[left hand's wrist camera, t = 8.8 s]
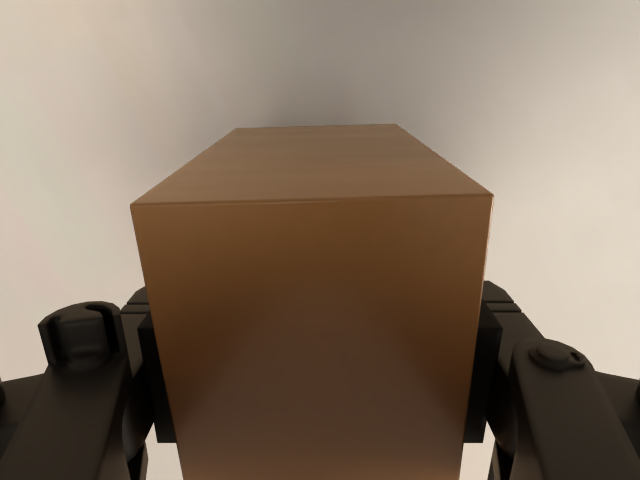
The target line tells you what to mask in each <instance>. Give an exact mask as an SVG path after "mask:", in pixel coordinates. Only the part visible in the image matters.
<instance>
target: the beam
mask: <svg viewBox="0 0 640 480" xmlns="http://www.w3.org/2000/svg"><path fill="white" fill-rule="evenodd" d="M493 201H494V195H493V194H492V193H491V192H490V191H488V190H487V189H485V188H484V187H483V186H481V185H480V184H478V183H477V182H476V181H474V180H473V179H472V178H470V177H469V176H467V175H466V174H465V173H463V172H462V171H460V170H459V169H458V168H456V167H455V166H453V165H452V164H451V163H449V162H448V161H446V160H445V159H444V158H442V157H441V156H439V155H438V154H437V153H435V152H434V151H433V150H431V149H430V148H428V147H427V146H426V145H424V144H423V143H421V142H420V141H419V140H417V139H416V138H414V137H413V136H412V135H410V134H409V133H407V132H406V131H405V130H403V129H402V128H401V127H399V126H398V125H396V124H372V125H337V126H302V127H267V128H236V129H234V130H233V131H232V132H230V133H229V134H228V135H226V136H225V137H223V138H222V139H221V140H219V141H218V142H216V143H215V144H214V145H212V146H211V147H209V148H208V149H207V150H205V151H204V152H202V153H201V154H200V155H198V156H197V157H195V158H194V159H193V160H191V161H190V162H188V163H187V164H186V165H184V166H183V167H181V168H180V169H179V170H177V171H176V172H175V173H173V174H172V175H170V176H169V177H168V178H166V179H165V180H163V181H162V182H161V183H159V184H158V185H156V186H155V187H154V188H152V189H151V190H149V191H148V192H147V193H145V194H144V195H142V196H141V197H140V198H138V199H137V200H135V201H134V202H133V203H131V205H130V210H131V215H132V220H133V225H134V230H135V235H136V240H137V245H138V251H139V256H140V261H141V266H142V271H143V276H144V281H145V286H146V291H147V296H148V301H149V307H150V312H151V317H152V322H153V327H154V332H155V337H156V342H157V347H158V352H159V357H160V363H161V368H162V373H163V378H164V383H165V388H166V393H167V398H168V403H169V408H170V414H171V419H172V424H173V429H174V434H175V439H176V444H177V449H178V454H179V459H180V464H181V470H182V475H183V480H459V476H460V468H461V460H462V452H463V444H464V436H465V428H466V419H467V411H468V403H469V395H470V387H471V379H472V371H473V363H474V355H475V347H476V339H477V331H478V323H479V314H480V306H481V298H482V290H483V282H484V274H485V266H486V258H487V250H488V242H489V234H490V226H491V218H492V209H493Z"/></svg>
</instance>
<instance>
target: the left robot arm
mask: <svg viewBox="0 0 640 480" xmlns="http://www.w3.org/2000/svg"><path fill="white" fill-rule="evenodd" d="M38 329H39V332H40V336H41V339H42V343H43V347H44V350H45V354H46V358H47V361H48V367H47V369H46V371H45V373H43V374H39V375H35V376H30V377H25V378H20V379H14V380H9V381H4V382H2V381H1V378H0V480H146V473H147V465H148V454H147V448H146V443H145V439H146V437H147V435H148V433H149V431H150V429H151V427H152V425H153V422H154V426H155V431H156V437H157V442H158V443H176V439H175V434H174V429H173V424H172V419H171V414H170V408H169V403H168V398H167V393H166V388H165V383H164V378H163V373H162V368H161V363H160V357H159V352H158V347H157V342H156V337H155V332H154V327H153V322H152V317H151V312H150V307H149V301H148V296H147V291H146V286H144V287H143V288H141V289H139V290H138V291H136V292H135V293H134V295H133V296H132V297H131V298H130V299H129V301H128V302H127V305H124V307H123V308H122V309H121V310H120V308H119V307H117V306H116V305H114V304H113V303H108V302H103V301H94V302H84V303H79V304H74V305H70V306H68V307H65V308H62V309H59V310H57V311H55V312H53V313H52V314H50V315H48V316H46V317H45V318H44V319H43V320H42V321H41V322H40V323H39V324H38ZM486 422H488V424H489V426H490V428H491V430H492V432H493V434H494V437H495V443H494V448H493V453H492V458H491V464H490V469H489V474H488V479H487V480H640V380H636V379H631V378H626V377H621V376H615V375H610V374H605V373H601V372H597V371H595V370H594V368H593V366H592V364H591V363H590V362H589V360H588V359H587V358H586V357H585V355H583V354H582V353H580V352H579V351H577V350H576V349H574V348H573V347H570V346H568V345H566V344H563V343H561V342H558V341H554V340H550V339H545V338H544V337H543V336H542V334H541V333H540V332H539V331H538V330H537V328H536V327H535V326H534V325H533V324H532V322H531V321H530V320H529V319H528V318H527V316H526V315H525V314H524V313H522V312H521V309H520V308H519V307H518V306H517V304H516V303H514V301H513V300H512V298H511V297H510V296H509V295H508V294H507V292H506V291H505V290H504V289H502V288H500V287H498V286H497V285H495V284H493V283H492V282H490V281H484V282H483V290H482V298H481V306H480V314H479V323H478V331H477V339H476V347H475V355H474V363H473V371H472V379H471V387H470V395H469V403H468V411H467V419H466V428H465V436H464V443H483V438H484V433H485V427H486Z"/></svg>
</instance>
